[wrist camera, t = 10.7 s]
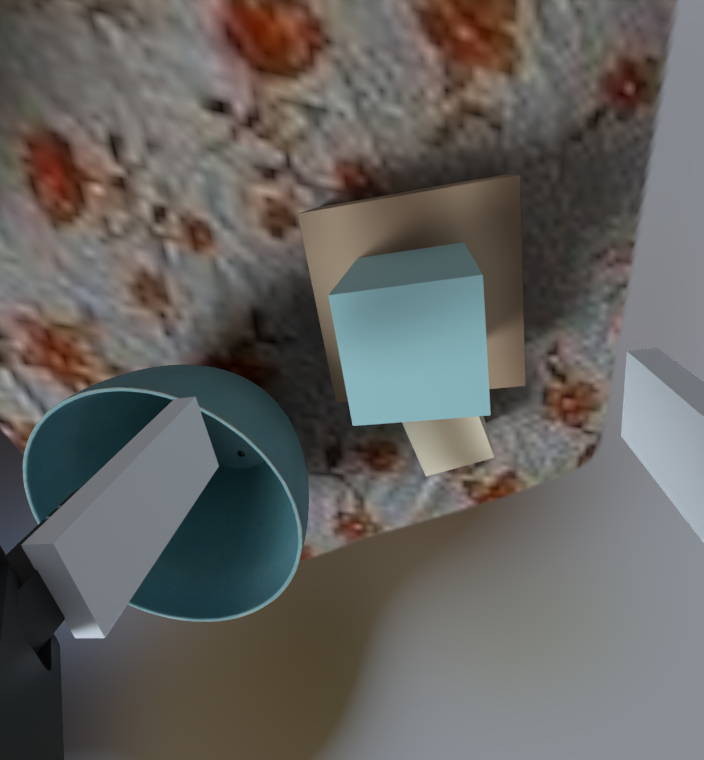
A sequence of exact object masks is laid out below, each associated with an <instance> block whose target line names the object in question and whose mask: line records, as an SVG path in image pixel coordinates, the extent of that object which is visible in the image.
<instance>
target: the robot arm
mask: <svg viewBox="0 0 704 760" xmlns="http://www.w3.org/2000/svg"><path fill="white" fill-rule="evenodd" d="M621 436H622V438H623V439H624V440H625V442H626V443H627V444H628V445H629V447H630V448H631V449H632V451H633V452H634V453H635V454H636V456H637V457H638V458H639V460H640V461H641V462H642V464H643V465H644V466H645V468H646V469H647V470H648V471H649V473H650V474H651V475H652V477H653V478H654V479H655V480H656V482H657V483H658V484H659V486H660V487H661V488H662V490H663V491H664V492H665V493H666V495H667V496H668V497H669V498H670V500H671V501H672V502H673V504H674V505H675V506H676V508H677V509H678V510H679V512H680V513H681V514H682V515H683V517H684V518H685V519H686V521H687V522H688V523H689V525H690V526H691V527H692V528H693V530H694V531H695V532H696V534H697V535H698V536H699V537H700V539H701V540H702V541H703V543H704V382H703V381H701V380H700V379H699V378H697V377H696V376H694V375H693V374H692V373H690V372H689V371H688V370H686V369H685V368H683V367H682V366H681V365H680V364H678V363H677V362H676V361H674V360H673V359H672V358H670V357H669V356H667V355H666V354H665V353H663V352H662V351H661V350H659V349H658V348H651V349H642V350H633V351H627V359H626V373H625V387H624V402H623V416H622V430H621ZM218 467H219V465H218V462H217V459H216V456H215V453H214V450H213V447H212V444H211V441H210V438H209V435H208V432H207V429H206V426H205V423H204V420H203V417H202V414H201V411H200V408H199V405H198V402H197V399H196V397H187V398H178V399H174V400H173V401H172V402H171V403H170V404H169V405H168V406H166V407H165V408H164V409H163V410H162V411H161V412H160V413H159V414H158V415H157V416H156V417H155V418H154V419H153V420H152V421H151V422H150V423H149V424H148V425H146V426H145V427H144V428H143V429H142V430H141V431H140V432H139V433H138V434H137V435H136V436H135V437H134V438H133V439H132V440H131V441H130V442H129V443H128V444H127V445H125V446H124V447H123V448H122V449H121V450H120V451H119V452H118V453H117V454H116V455H115V456H114V457H113V458H112V459H111V460H110V461H109V462H108V463H107V464H106V465H104V466H103V467H102V468H101V469H100V470H99V471H98V472H97V473H96V474H95V475H94V476H93V477H92V478H91V479H90V480H89V481H88V482H87V483H86V484H85V485H83V486H82V487H80V488H79V489H77V490H76V491H74V492H72V493H71V494H70V495H69V496H68V497H67V498H66V499H65V500H64V501H63V502H62V503H61V504H60V505H59V506H58V508H57V509H54V510H53V511H52V512H51V513H50V514H49V515H48V516H47V519H46V520H43V521H42V522H41V523H40V524H39V525H37V526H36V527H35V528H34V529H33V530H32V531H31V532H30V533H29V534H28V535H27V536H26V537H25V538H24V539H23V540H22V541H21V542H19V543H18V544H17V545H16V546H15V547H14V548H13V549H12V550H11V551H10V552H9V553H8V554H7V555H5V553H4V551H3V550H2V548H1V546H0V760H64V743H63V720H62V719H63V718H62V692H61V665H60V645H59V643H58V640H57V638H56V637H55V635H54V632H55V631H56V630H57V628H58V627H59V626H60V624H61V623H62V622H63V621H64V620H65V621H66V623H67V625H68V627H69V628H70V630H71V632H72V633H73V635H74V637H75V638H105V637H106V636H107V634H108V633H109V631H110V630H111V628H112V627H113V625H114V624H115V622H116V621H117V619H118V618H119V616H120V615H121V613H122V612H123V610H124V609H125V607H126V606H127V604H128V603H129V601H130V600H131V598H132V597H133V595H134V594H135V592H136V591H137V589H138V588H139V586H140V585H141V583H142V582H143V580H144V579H145V577H146V575H147V574H148V572H149V571H150V569H151V568H152V566H153V565H154V563H155V562H156V560H157V559H158V557H159V556H160V554H161V553H162V551H163V550H164V548H165V547H166V545H167V544H168V542H169V541H170V539H171V538H172V536H173V535H174V533H175V532H176V530H177V529H178V527H179V526H180V524H181V523H182V521H183V520H184V518H185V517H186V515H187V514H188V512H189V511H190V509H191V508H192V506H193V505H194V503H195V502H196V500H197V498H198V497H199V495H200V494H201V492H202V491H203V489H204V488H205V486H206V485H207V483H208V482H209V480H210V479H211V477H212V476H213V474H214V473H215V471H216V470H217V468H218Z"/></svg>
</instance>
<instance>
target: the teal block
mask: <svg viewBox="0 0 704 760" xmlns="http://www.w3.org/2000/svg"><path fill="white" fill-rule="evenodd" d="M328 297H329V302H330V307H331V313H332V318H333V323H334V329H335V334H336V339H337V345H338V350H339V355H340V361H341V366H342V371H343V377H344V382H345V387H346V393H347V398H348V403H349V409H350V414H351V419H352V425H353V426H360V425H373V424H386V423H399V422H412V421H425V420H438V419H451V418H464V417H477V416H490V415H491V411H490V393H489V376H488V358H487V340H486V322H485V304H484V286H483V274H482V272H481V271H480V269H479V267H478V265H477V264H476V262H475V260H474V259H473V257H472V255H471V253H470V252H469V250H468V248H467V247H466V245H465V243H464V242H463V243H456V244H449V245H442V246H436V247H429V248H422V249H415V250H409V251H402V252H395V253H389V254H382V255H375V256H368V257H362V258H357V259H356V261H355V262H354V263H353V264H352V266H351V267H350V268H349V270H348V271H347V272H346V273H345V275H344V276H343V277H342V279H341V280H340V281H339V282H338V284H337V285H336V286H335V287H334V289H333V290H332V291H331V293H330V294H329V295H328Z"/></svg>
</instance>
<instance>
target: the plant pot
mask: <svg viewBox="0 0 704 760" xmlns="http://www.w3.org/2000/svg"><path fill="white" fill-rule="evenodd" d="M187 397H196V399H197V402H198V405H199V408H200V411H201V412H202V413H203V416H202V417H203V420H204V423H205V426H206V429H207V432H208V435H209V438H210V441H211V444H212V447H213V450H214V453H215V456H216V459H217V462H218V465H219V467H218V468H217V470H216V471H215V473H214V474H213V476H212V477H211V479H210V480H209V482H208V483H207V485H206V486H205V488H204V489H203V491H202V492H201V494H200V495H199V497H198V498H197V500H196V502H195V503H194V505H193V506H192V508H191V509H190V511H189V512H188V514H187V515H186V517H185V518H184V520H183V521H182V523H181V524H180V526H179V527H178V529H177V530H176V532H175V533H174V535H173V536H172V538H171V539H170V541H169V542H168V544H167V545H166V547H165V548H164V550H163V551H162V553H161V554H160V556H159V557H158V559H157V560H156V562H155V563H154V565H153V566H152V568H151V569H150V571H149V572H148V574H147V575H146V577H145V579H144V580H143V582H142V583H141V585H140V586H139V588H138V589H137V591H136V592H135V594H134V595H133V597H132V598H131V600H130V601H129V603H128V605H130V606H132V607H134V608H137V609H140V610H143V611H146V612H149V613H152V614H155V615H159V616H163V617H167V618H172V619H177V620H185V621H196V622H198V621H199V622H209V621H210V622H212V621H223V620H230V619H234V618H239V617H242V616H245V615H248V614H250V613H253V612H255V611H257V610H259V609H261V608H263V607H264V606H266V605H268V604H269V603H271V602H272V601H273V600H275V599H276V598H277V597H278V596H279V595H280V594H281V593H282V592H283V591H284V590H285V589H286V587H287V586H288V585H289V583H290V581H291V580H292V578H293V576H294V574H295V572H296V570H297V567H298V564H299V561H300V558H301V554H302V550H303V546H304V541H305V536H306V529H307V521H308V507H309V488H308V476H307V469H306V463H305V459H304V454H303V451H302V447H301V444H300V441H299V439H298V436H297V434H296V431H295V429H294V427H293V425H292V423H291V421H290V420H289V418H288V417H287V415H286V413H285V412H284V411H283V409H282V408H281V407H280V406H279V404H278V403H277V402H276V401H275V400H274V399H273V398H272V397H271V396H270V395H269V394H268V393H267V392H266V391H264V390H263V389H262V388H261V387H259V386H258V385H256V384H255V383H253V382H251V381H250V380H248V379H246V378H244V377H242V376H240V375H237V374H235V373H232V372H229V371H226V370H222V369H219V368H214V367H208V366H199V365H169V366H160V367H153V368H147V369H142V370H138V371H134V372H130V373H127V374H123V375H120V376H117V377H114V378H111V379H108V380H105V381H103V382H100V383H98V384H95V385H93V386H91V387H89V388H86V389H84V390H82V391H80V392H78V393H76V394H74V395H72V396H70V397H69V398H67V399H65V400H63V401H62V402H60V403H59V404H57V405H56V406H54V407H53V408H51V409H50V410H49V411H48V412H47V413H46V414H45V415H44V416H43V417H42V418H41V419H40V420H39V421H38V423H37V424H36V426H35V427H34V429H33V431H32V433H31V435H30V437H29V439H28V442H27V445H26V449H25V453H24V459H23V480H24V486H25V491H26V495H27V499H28V502H29V505H30V508H31V510H32V513H33V515H34V517H35V519H36V521H37V523H38V525H39V524H40V523H41V522H42V521H43V520H46V519H47V516H48V515H49V514H50V513H51V512H52V511H53V510H54V509H57V508H58V506H59V505H60V504H61V503H62V502H63V501H64V500H65V499H66V498H67V497H68V496H69V495H70V494H71V493H72V492H74V491H76V490H77V489H79V488H80V487H82V486H83V485H85V484H86V483H87V482H88V481H89V480H90V479H91V478H92V477H93V476H94V475H95V474H96V473H97V472H98V471H99V470H100V469H101V468H102V467H103V466H104V465H106V464H107V463H108V462H109V461H110V460H111V459H112V458H113V457H114V456H115V455H116V454H117V453H118V452H119V451H120V450H121V449H122V448H123V447H124V446H125V445H127V444H128V443H129V442H130V441H131V440H132V439H133V438H134V437H135V436H136V435H137V434H138V433H139V432H140V431H141V430H142V429H143V428H144V427H145V426H146V425H148V424H149V423H150V422H151V421H152V420H153V419H154V418H155V417H156V416H157V415H158V414H159V413H160V412H161V411H162V410H163V409H164V408H165V407H166V406H168V405H169V404H170V403H171V402H172V401H173V400H174V399H178V398H187ZM238 451H242V452H244V454H245V455H244V456H240V455H239V454H238Z"/></svg>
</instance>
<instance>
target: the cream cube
mask: <svg viewBox="0 0 704 760" xmlns="http://www.w3.org/2000/svg"><path fill="white" fill-rule="evenodd" d="M402 424H403V426H404V428H405V431H406V433H407V435H408V437H409V440H410V442H411V444H412V446H413V449H414V451H415V453H416V455H417V457H418V460H419V462H420V464H421V466H422V469H423V471H424V473H425V475H426V476H429V475H433V474H437V473H440V472H444V471H448V470H451V469H455V468H458V467H462V466H466V465H469V464H473V463H476V462H480V461H484V460H487V459H491V458H494V453H493V449H492V445H491V441H490V437H489V433H488V429H487V425H486V422H485V419H484V416H477V417H464V418H451V419H438V420H425V421H412V422H402Z"/></svg>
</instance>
